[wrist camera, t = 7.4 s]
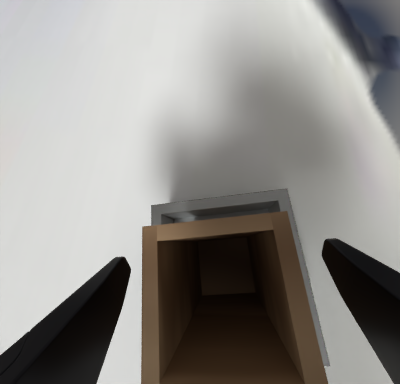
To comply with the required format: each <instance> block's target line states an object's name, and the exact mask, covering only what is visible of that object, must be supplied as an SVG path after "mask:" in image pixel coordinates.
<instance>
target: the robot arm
mask: <svg viewBox="0 0 400 384" xmlns="http://www.w3.org/2000/svg"><path fill="white" fill-rule="evenodd" d="M322 257H323V260H324V262H325V264H326V266H327V268H328V270H329V272H330V274H331V276H332V278H333V281H334V283H335V285H336V287H337V289H338V291H339V293H340V295H341V297H342V298H343V300H344V302H345V303H346V305H347V307H348V308H349V310H350V312H351V313H352V315H353V317H354V318H355V320H356V322H357V323H358V325H359V327H360V328H361V330H362V332H363V333H364V335H365V337H366V338H367V340H368V341H369V343H370V345H371V346H372V348H373V350H374V351H375V353H376V355H377V356H378V358H379V360H380V361H381V363H382V365H383V366H384V368H385V370H386V371H387V373H388V374H389V376H390V378H391V379H392V381H393V383H394V384H400V273H399V272H397V271H395V270H394V269H392V268H390V267H388V266H386V265H385V264H383V263H381V262H379V261H377V260H375V259H374V258H372V257H370V256H368V255H366V254H365V253H363V252H361V251H359V250H357V249H355V248H354V247H352V246H350V245H348V244H346V243H345V242H343V241H341V240H339V239H336V238H333V239H326V240H325V241H324V245H323V250H322ZM130 273H131V268H130V266H129V264H128V262H127V260H126V258H125V257H115V258H114V259H113V260H111V261H110V262H109V263H108V264H107V265H106V266H104V267H103V268H102V269H101V270H100V271H99V272H97V273H96V274H95V275H94V276H93V277H92V278H90V279H89V280H88V281H87V282H86V283H85V284H83V285H82V286H81V287H80V288H79V289H78V290H76V291H75V292H74V293H73V294H72V295H71V296H69V297H68V298H67V299H66V300H65V301H64V302H62V303H61V304H60V305H59V306H58V307H57V308H55V309H54V310H53V311H52V312H51V313H50V314H48V315H47V316H46V317H45V318H44V319H43V320H41V321H40V322H39V323H38V324H37V325H36V326H34V327H33V328H32V329H31V330H30V331H29V332H27V333H26V334H25V335H24V336H23V337H22V338H20V339H19V340H18V341H17V342H16V343H14V344H13V345H12V346H11V347H10V348H8V349H7V350H6V351H5V352H4V353H3V354H1V355H0V384H96V383H97V380H98V377H99V374H100V371H101V369H102V366H103V363H104V360H105V357H106V354H107V351H108V348H109V345H110V342H111V339H112V336H113V333H114V330H115V327H116V324H117V321H118V318H119V315H120V312H121V309H122V306H123V302H124V298H125V294H126V290H127V286H128V282H129V277H130Z"/></svg>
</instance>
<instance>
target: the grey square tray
mask: <svg viewBox="0 0 400 384" xmlns="http://www.w3.org/2000/svg"><path fill="white" fill-rule="evenodd" d="M282 211H288V216H289V220H290V224H291V228H292V233H293V237H294V241H295V245H296V250H297V254H298V258H299V262H300V267H301V271H302V275H303V279H304V284H305V288H306V292H307V296H308V301H309V305H310V309H311V313H312V318H313V322H314V326H315V330H316V335H317V339H318V343H319V347H320V352H321V356H322V360H323V364H324V366H330V363H329V359H328V355H327V351H326V347H325V343H324V338H323V334H322V330H321V326H320V322H319V318H318V314H317V310H316V305H315V301H314V297H313V293H312V289H311V285H310V281H309V277H308V273H307V268H306V264H305V260H304V256H303V252H302V248H301V244H300V240H299V235H298V231H297V227H296V223H295V219H294V215H293V211H292V207H291V203H290V198H289V194H288V190H287V189H280V190H272V191H264V192H255V193H247V194H239V195H231V196H223V197H215V198H207V199H199V200H191V201H182V202H174V203H166V204H158V205H151V226H154V225H163V224H172V223H181V222H190V221H199V220H208V219H218V218H227V217H236V216H245V215H254V214H263V213H272V212H282Z"/></svg>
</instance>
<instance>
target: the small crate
mask: <svg viewBox="0 0 400 384" xmlns="http://www.w3.org/2000/svg"><path fill="white" fill-rule="evenodd" d="M141 384H328V381H327V377H326V373H325V369H324V364H323V360H322V356H321V352H320V347H319V343H318V339H317V335H316V330H315V326H314V322H313V318H312V313H311V309H310V305H309V301H308V296H307V292H306V288H305V284H304V279H303V275H302V271H301V267H300V262H299V258H298V254H297V250H296V245H295V241H294V237H293V233H292V228H291V224H290V220H289V216H288V211H282V212H272V213H263V214H254V215H245V216H236V217H227V218H218V219H208V220H199V221H190V222H181V223H172V224H163V225H154V226H144V227H142V362H141Z"/></svg>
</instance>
